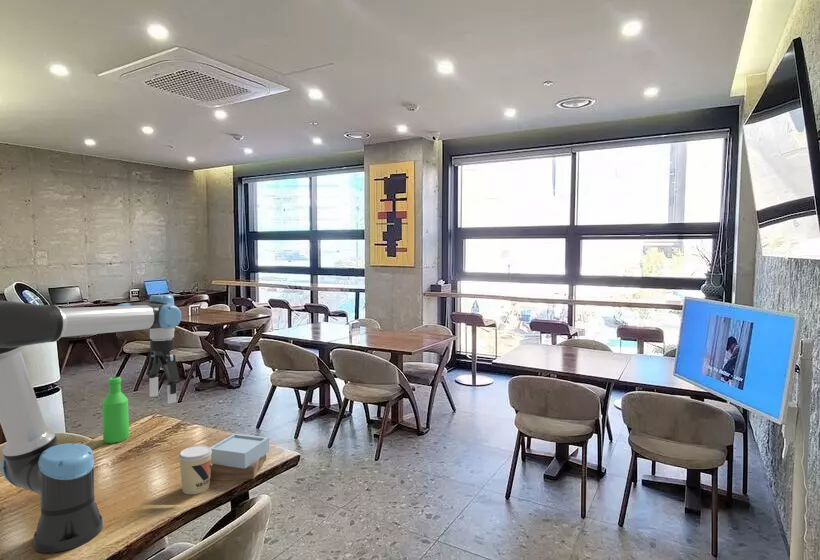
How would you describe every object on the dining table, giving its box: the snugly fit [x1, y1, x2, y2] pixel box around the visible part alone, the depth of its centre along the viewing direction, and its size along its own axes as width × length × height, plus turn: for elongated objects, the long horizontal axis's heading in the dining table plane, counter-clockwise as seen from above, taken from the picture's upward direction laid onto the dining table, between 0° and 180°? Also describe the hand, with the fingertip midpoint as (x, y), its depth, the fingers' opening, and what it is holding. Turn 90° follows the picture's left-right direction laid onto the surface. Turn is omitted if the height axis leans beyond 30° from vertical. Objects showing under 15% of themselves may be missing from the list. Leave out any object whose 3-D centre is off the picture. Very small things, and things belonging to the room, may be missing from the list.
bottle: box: [101, 376, 130, 444], centre depth 188 cm, size 9×9×25 cm
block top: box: [209, 433, 270, 469], centre depth 162 cm, size 14×14×5 cm
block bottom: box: [210, 454, 267, 481], centre depth 162 cm, size 14×14×5 cm
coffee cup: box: [178, 445, 212, 495], centre depth 149 cm, size 9×9×12 cm
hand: (162, 399), depth 167 cm, fingers open, 13 cm apart
